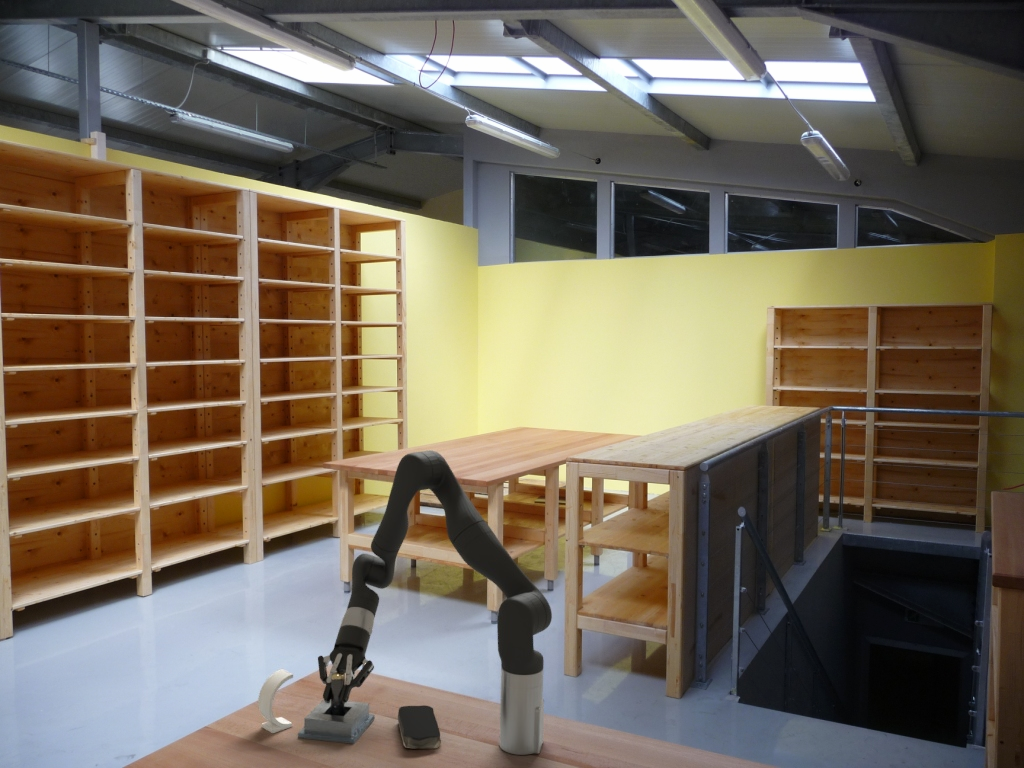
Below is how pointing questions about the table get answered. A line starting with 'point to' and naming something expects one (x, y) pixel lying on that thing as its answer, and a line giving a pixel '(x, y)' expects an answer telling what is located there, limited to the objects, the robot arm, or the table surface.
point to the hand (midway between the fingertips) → (334, 702)
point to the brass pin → (337, 693)
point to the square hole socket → (337, 723)
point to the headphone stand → (267, 701)
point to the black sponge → (418, 727)
